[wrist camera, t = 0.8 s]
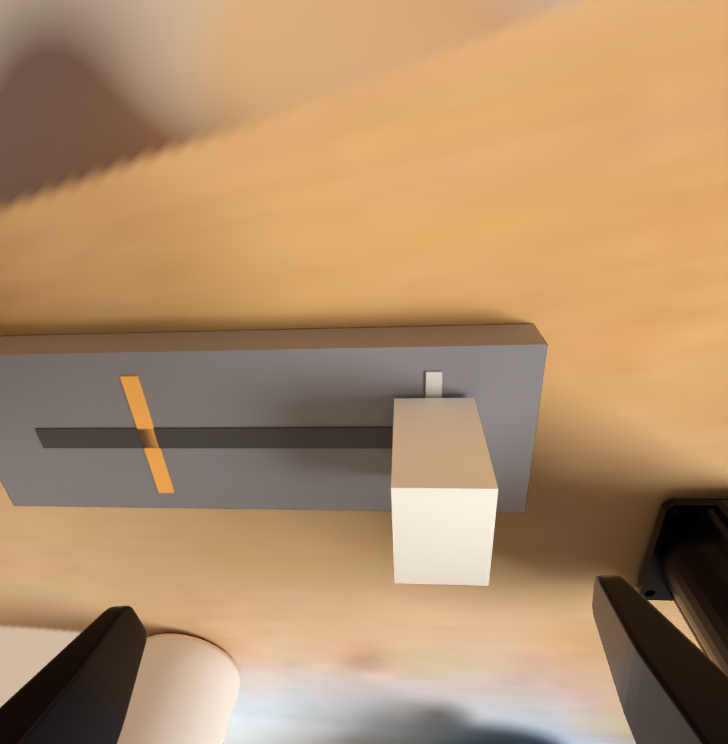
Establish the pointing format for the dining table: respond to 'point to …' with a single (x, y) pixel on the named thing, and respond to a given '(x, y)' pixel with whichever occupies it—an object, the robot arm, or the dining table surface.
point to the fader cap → (441, 493)
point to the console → (252, 413)
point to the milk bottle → (181, 693)
